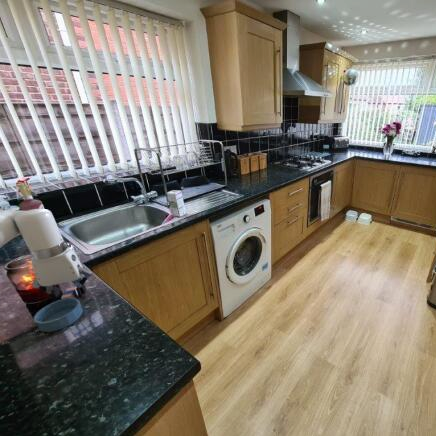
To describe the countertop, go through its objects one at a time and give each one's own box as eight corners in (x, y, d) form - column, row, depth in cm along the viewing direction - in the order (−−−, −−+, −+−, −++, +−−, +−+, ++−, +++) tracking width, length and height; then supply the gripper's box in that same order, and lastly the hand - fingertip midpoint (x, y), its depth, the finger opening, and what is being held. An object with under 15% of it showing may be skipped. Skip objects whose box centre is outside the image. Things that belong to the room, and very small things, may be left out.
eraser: (73, 302, 78) (70, 295, 77) (63, 304, 77) (60, 298, 76) (79, 292, 82) (76, 286, 81) (69, 294, 82) (66, 288, 80)
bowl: (31, 338, 66) (25, 327, 64) (49, 312, 74) (44, 302, 73) (76, 327, 69) (71, 317, 68) (88, 303, 78) (84, 294, 76)
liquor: (53, 242, 115) (27, 185, 104) (33, 245, 112) (4, 186, 101) (60, 235, 121) (36, 180, 110) (42, 238, 119) (15, 182, 108)
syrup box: (186, 213, 148) (181, 190, 142) (179, 217, 142) (175, 193, 137) (178, 212, 149) (173, 189, 143) (171, 216, 144) (166, 192, 138)
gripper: (88, 239, 79) (105, 284, 86) (19, 249, 73) (43, 297, 80) (79, 250, 72) (99, 298, 79) (3, 262, 66) (31, 313, 74)
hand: (71, 297), depth 80 cm, fingers open, 5 cm apart
